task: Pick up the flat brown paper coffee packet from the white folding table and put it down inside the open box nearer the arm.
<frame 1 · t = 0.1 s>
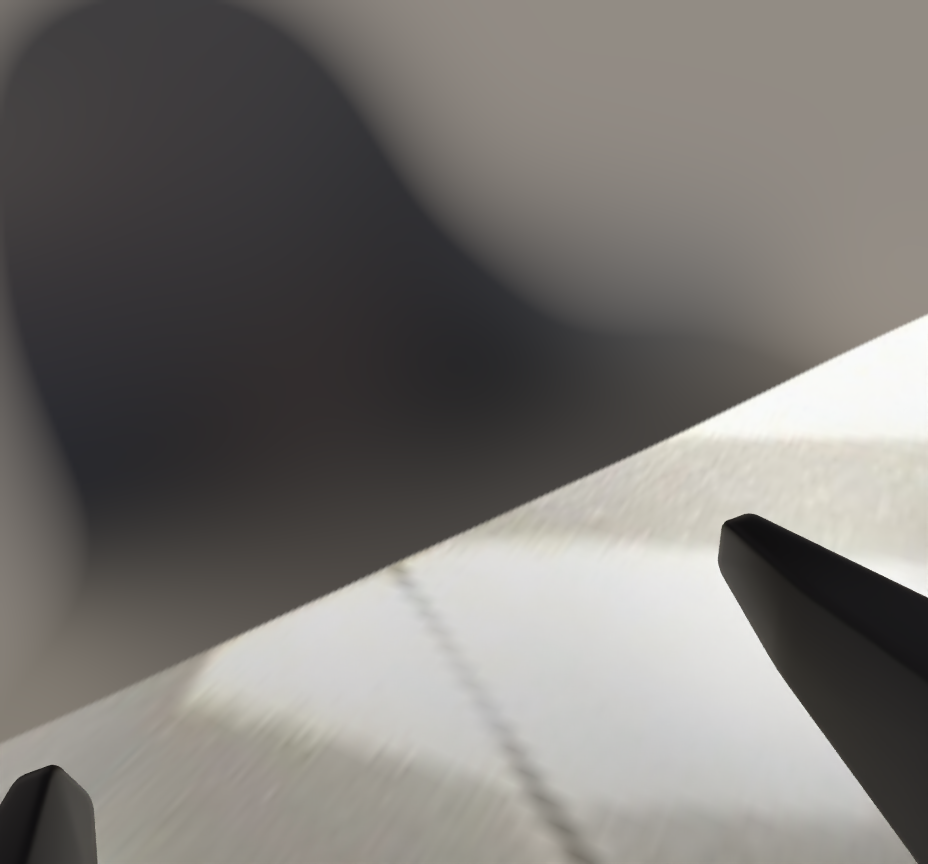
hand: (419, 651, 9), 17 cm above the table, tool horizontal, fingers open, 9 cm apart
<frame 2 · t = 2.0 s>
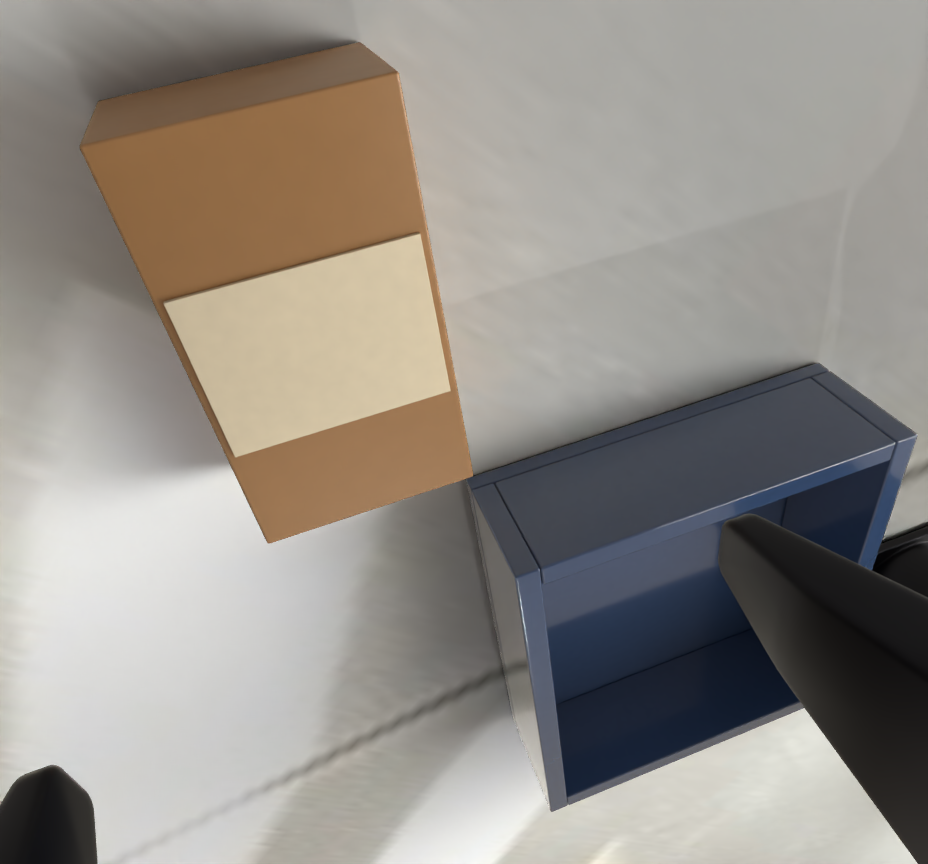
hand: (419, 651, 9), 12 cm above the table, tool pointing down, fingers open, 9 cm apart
packet: (300, 283, 18), on the table
open box: (645, 562, 30), on the table
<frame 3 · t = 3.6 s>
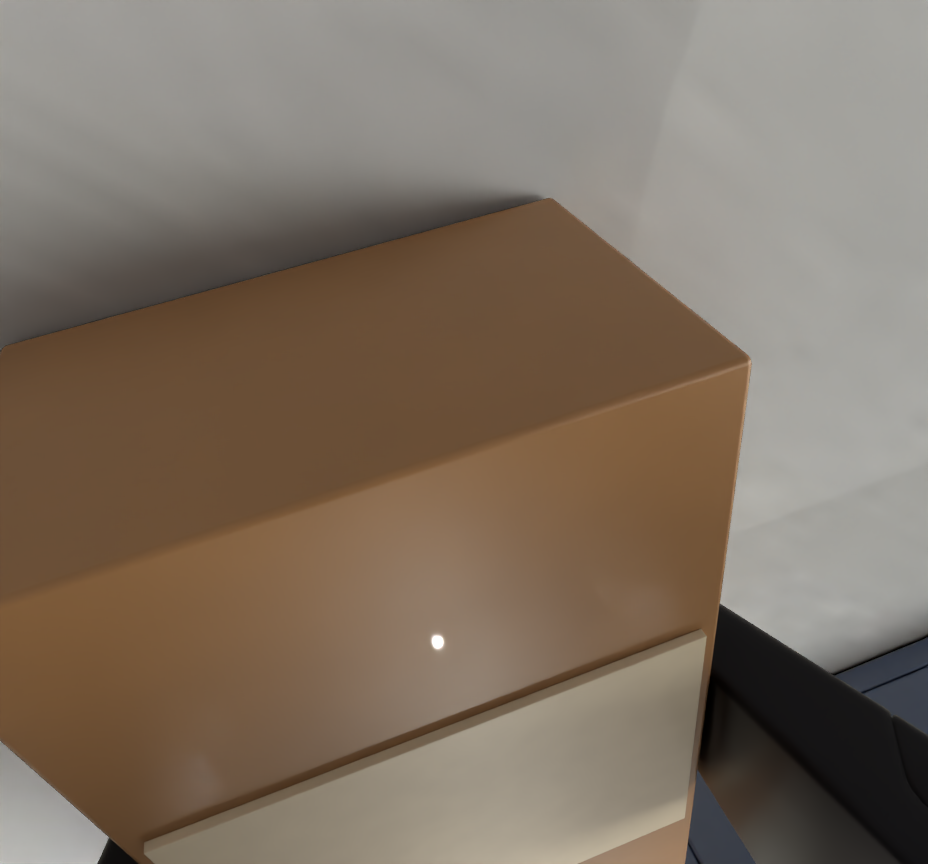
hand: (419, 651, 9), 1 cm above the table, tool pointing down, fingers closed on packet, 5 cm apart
packet: (395, 582, 10), on the table, touching gripper
open box: (814, 803, 22), on the table
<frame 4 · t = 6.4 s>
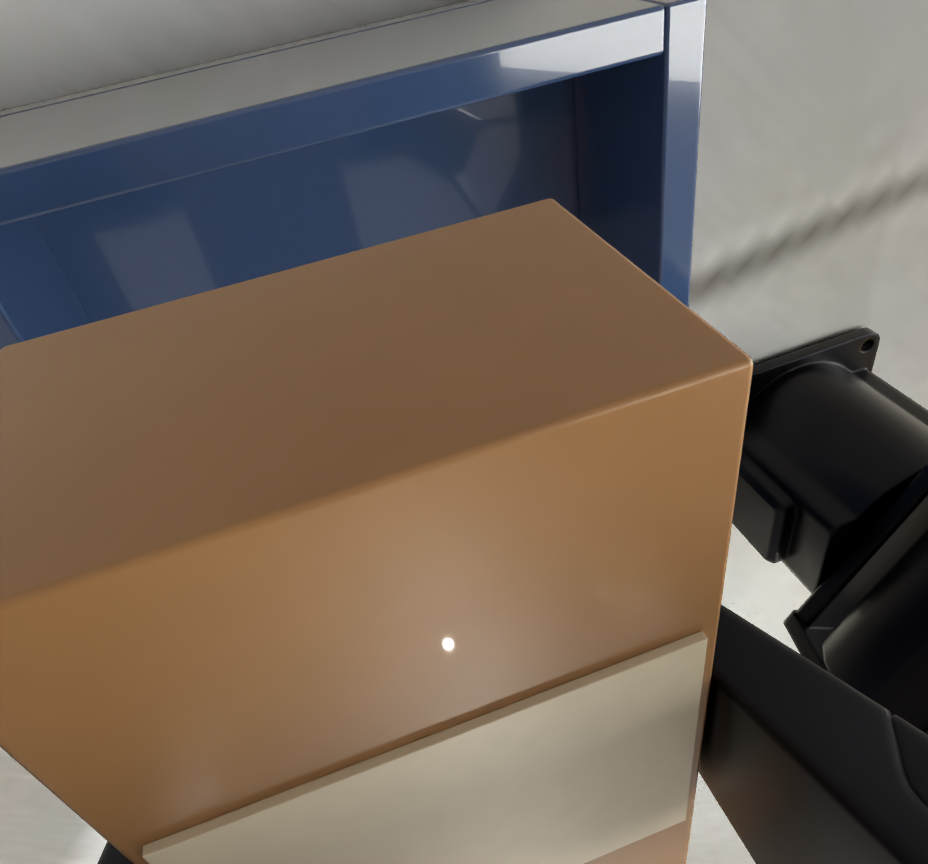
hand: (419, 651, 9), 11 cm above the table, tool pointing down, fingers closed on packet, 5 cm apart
packet: (395, 583, 10), point 10 cm above the table, touching gripper
open box: (375, 355, 20), on the table
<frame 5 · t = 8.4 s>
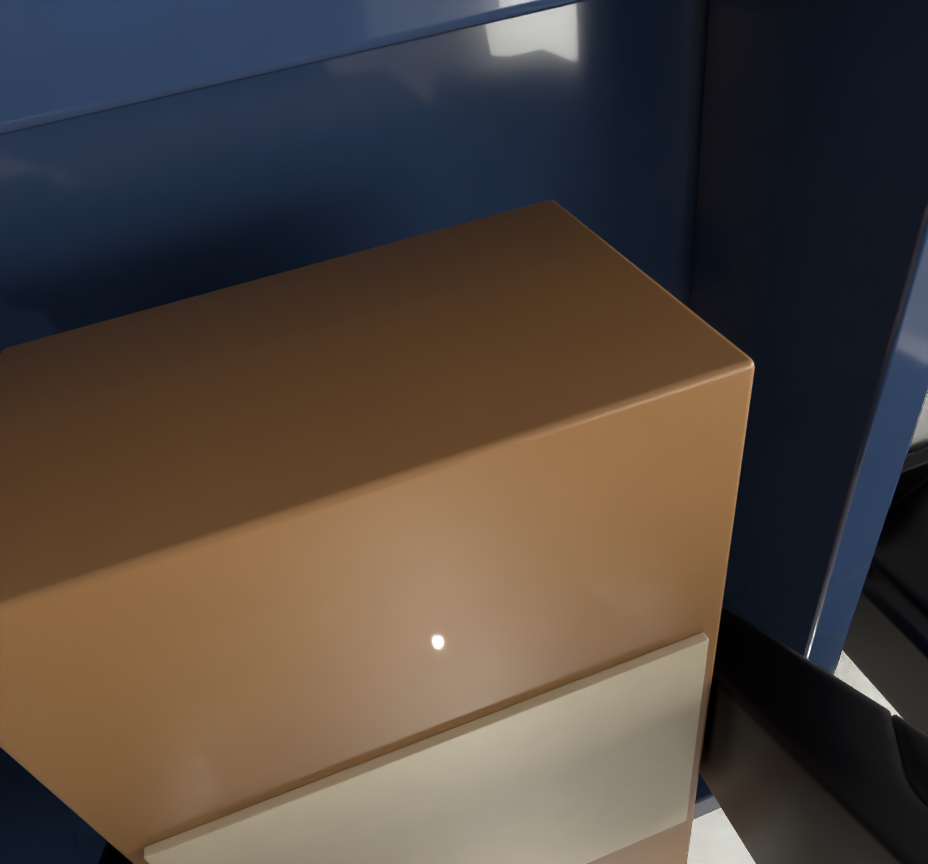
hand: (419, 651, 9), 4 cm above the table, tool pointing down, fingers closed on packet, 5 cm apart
packet: (395, 584, 10), point 3 cm above the table, touching gripper
open box: (355, 464, 12), on the table
when the fingers open (2 cm above the table, at t = 9.9 s): packet stays where it is, resting on open box.
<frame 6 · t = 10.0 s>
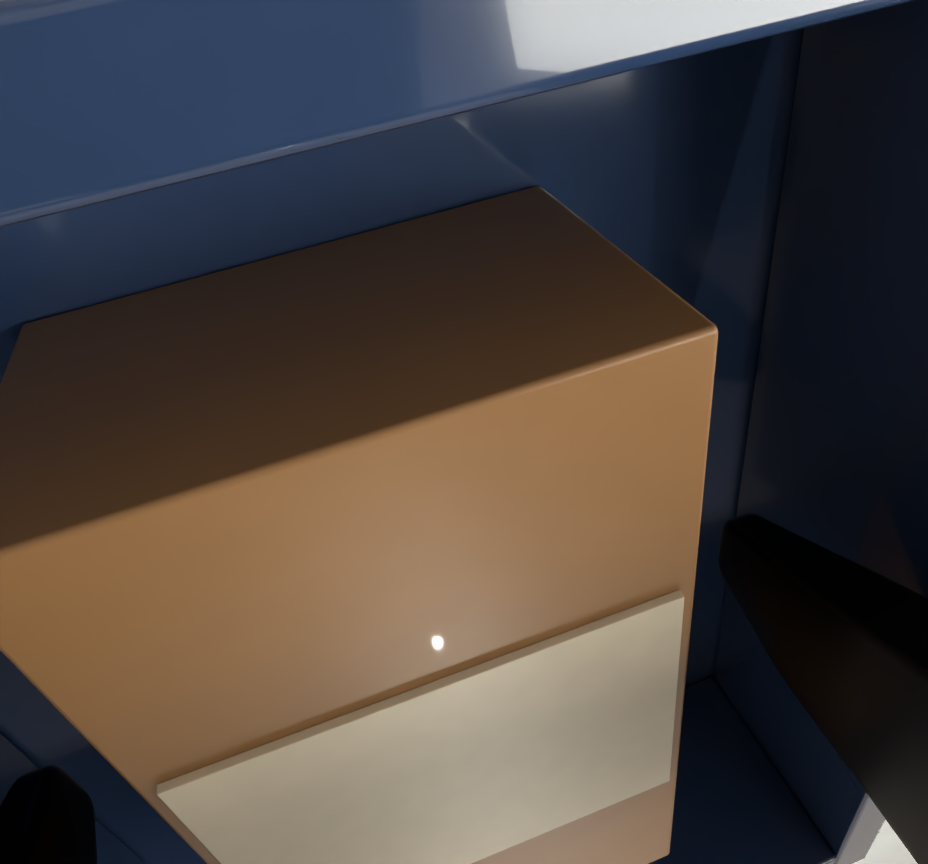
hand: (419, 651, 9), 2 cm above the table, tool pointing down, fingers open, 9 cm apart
packet: (392, 558, 11), point 1 cm above the table, touching open box
open box: (382, 531, 11), on the table
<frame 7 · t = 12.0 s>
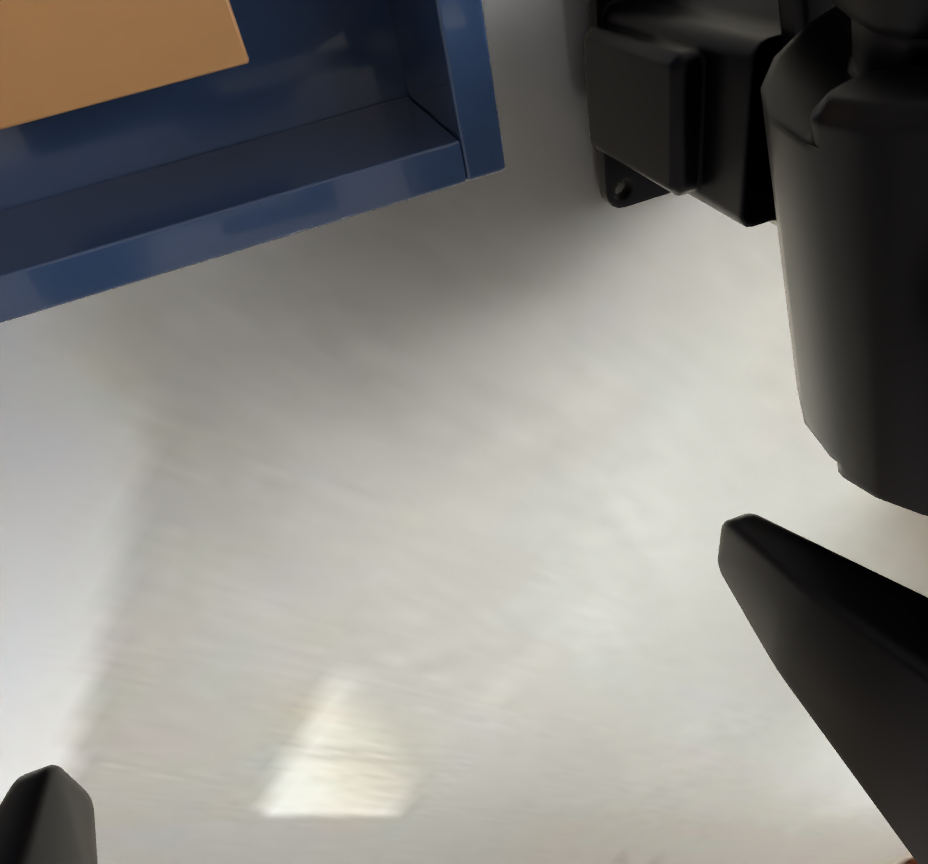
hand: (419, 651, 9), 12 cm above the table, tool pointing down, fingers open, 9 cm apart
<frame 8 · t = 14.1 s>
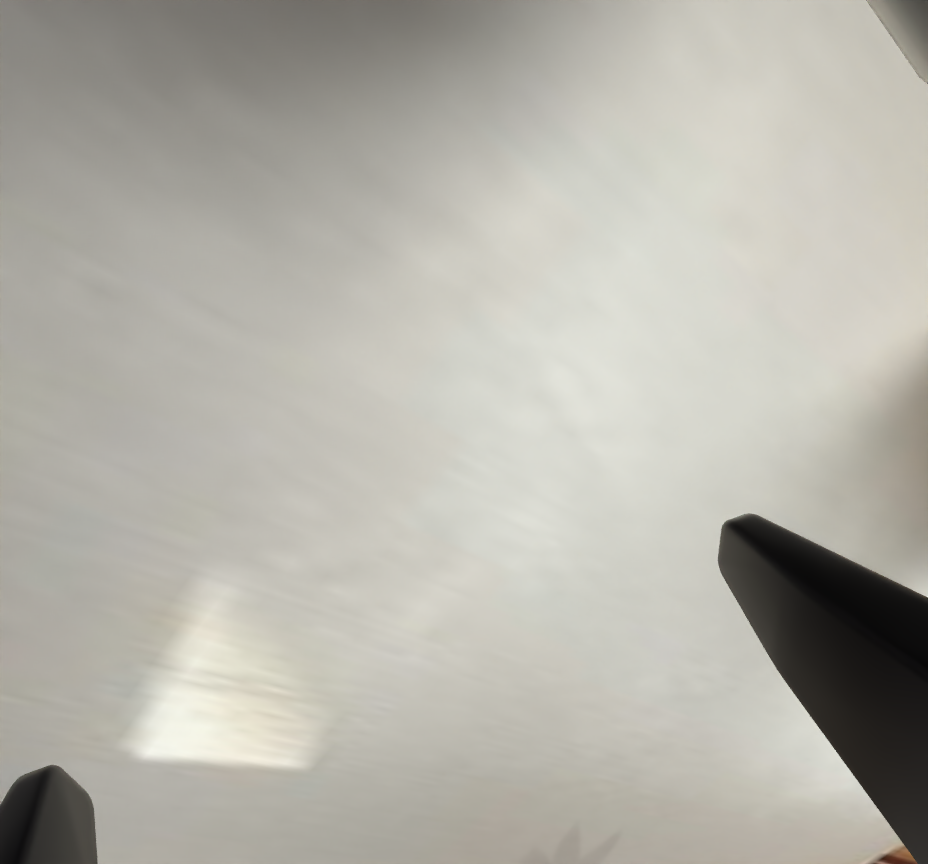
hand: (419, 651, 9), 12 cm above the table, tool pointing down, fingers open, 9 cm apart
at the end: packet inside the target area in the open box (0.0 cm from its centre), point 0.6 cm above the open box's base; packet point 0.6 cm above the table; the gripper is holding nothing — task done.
